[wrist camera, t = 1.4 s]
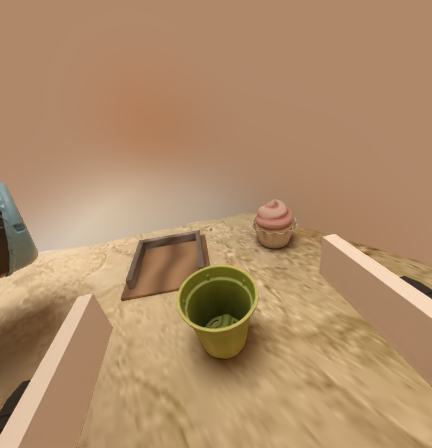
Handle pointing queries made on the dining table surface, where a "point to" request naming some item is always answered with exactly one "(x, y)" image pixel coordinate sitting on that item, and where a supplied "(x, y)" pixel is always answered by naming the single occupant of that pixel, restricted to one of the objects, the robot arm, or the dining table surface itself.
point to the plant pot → (219, 307)
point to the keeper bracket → (165, 264)
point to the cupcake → (274, 224)
